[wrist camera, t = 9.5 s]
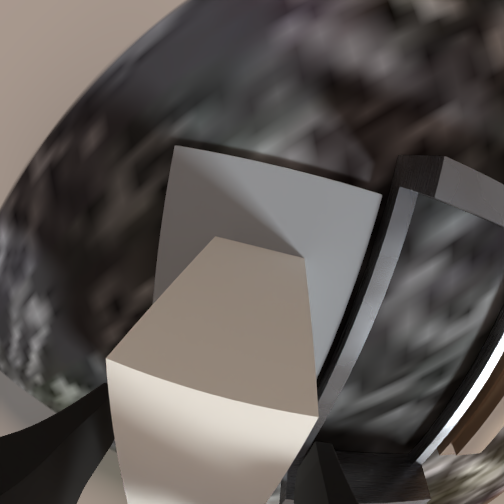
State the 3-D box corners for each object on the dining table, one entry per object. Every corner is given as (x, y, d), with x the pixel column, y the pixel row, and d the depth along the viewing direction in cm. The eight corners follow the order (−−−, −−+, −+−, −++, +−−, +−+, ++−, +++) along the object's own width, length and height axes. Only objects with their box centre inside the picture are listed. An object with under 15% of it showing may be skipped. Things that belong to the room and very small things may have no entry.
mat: (379, 193, 11) (382, 194, 11) (267, 471, 17) (267, 476, 16) (179, 145, 12) (174, 145, 11) (150, 440, 17) (148, 445, 17)
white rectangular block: (304, 258, 12) (318, 416, 4) (241, 448, 16) (216, 565, 8) (215, 236, 12) (105, 358, 4) (183, 432, 16) (139, 544, 8)
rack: (542, 221, 10) (593, 243, 7) (409, 463, 16) (420, 507, 12) (398, 154, 11) (444, 156, 7) (283, 455, 16) (278, 507, 12)
